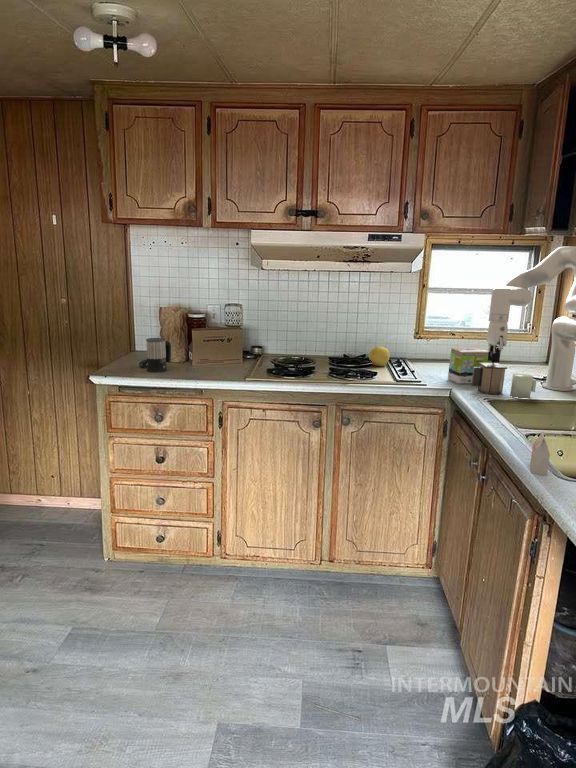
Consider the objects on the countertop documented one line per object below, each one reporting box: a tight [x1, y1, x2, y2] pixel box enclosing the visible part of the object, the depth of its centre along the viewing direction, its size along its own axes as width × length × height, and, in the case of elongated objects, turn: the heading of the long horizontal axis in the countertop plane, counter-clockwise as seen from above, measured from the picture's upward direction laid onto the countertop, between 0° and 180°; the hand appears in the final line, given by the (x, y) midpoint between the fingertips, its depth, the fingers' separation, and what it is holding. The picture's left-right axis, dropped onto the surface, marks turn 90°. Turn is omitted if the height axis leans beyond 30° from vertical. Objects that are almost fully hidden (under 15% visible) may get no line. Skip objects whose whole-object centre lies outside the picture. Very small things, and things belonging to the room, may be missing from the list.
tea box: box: [447, 347, 491, 384], centre depth 241 cm, size 15×10×15 cm, turn 106°
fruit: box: [368, 346, 391, 367], centre depth 270 cm, size 10×11×10 cm
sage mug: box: [509, 373, 538, 399], centre depth 216 cm, size 9×8×9 cm
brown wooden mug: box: [471, 362, 508, 396], centre depth 223 cm, size 13×10×12 cm
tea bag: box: [529, 431, 551, 477], centre depth 141 cm, size 4×7×10 cm, turn 158°
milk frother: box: [138, 337, 172, 373], centre depth 248 cm, size 14×16×15 cm
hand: (493, 361), depth 221 cm, fingers closed on plunger, 3 cm apart
